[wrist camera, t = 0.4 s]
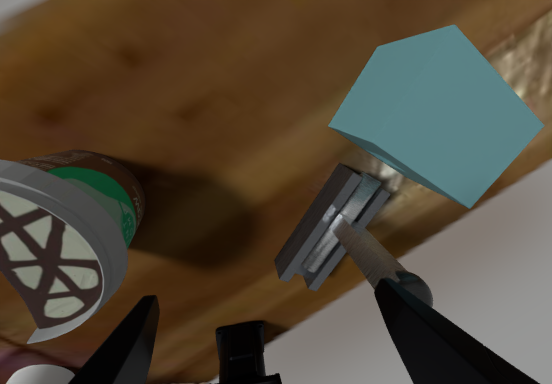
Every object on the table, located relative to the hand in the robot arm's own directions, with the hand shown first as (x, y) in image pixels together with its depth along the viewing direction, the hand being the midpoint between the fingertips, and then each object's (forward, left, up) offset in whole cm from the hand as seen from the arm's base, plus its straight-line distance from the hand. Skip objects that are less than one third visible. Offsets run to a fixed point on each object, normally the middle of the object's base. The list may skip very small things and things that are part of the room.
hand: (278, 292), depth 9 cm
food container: (-2, +12, -16) cm, 20 cm away
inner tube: (-6, -9, -14) cm, 18 cm away
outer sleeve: (-6, -9, -16) cm, 19 cm away
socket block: (+5, -15, -16) cm, 22 cm away
